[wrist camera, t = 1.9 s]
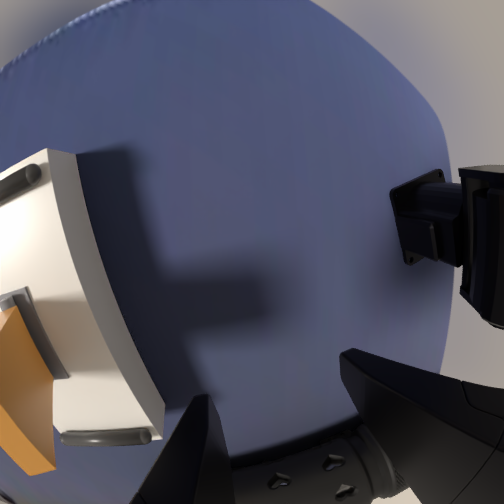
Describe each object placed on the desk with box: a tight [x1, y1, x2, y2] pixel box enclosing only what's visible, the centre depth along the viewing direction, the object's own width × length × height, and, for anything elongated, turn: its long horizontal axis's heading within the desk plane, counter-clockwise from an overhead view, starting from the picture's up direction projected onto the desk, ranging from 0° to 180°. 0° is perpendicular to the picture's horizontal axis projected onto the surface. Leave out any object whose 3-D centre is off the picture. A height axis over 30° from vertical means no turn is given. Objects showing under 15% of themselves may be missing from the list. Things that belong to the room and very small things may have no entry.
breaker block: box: [0, 148, 165, 446], centre depth 14 cm, size 9×20×5 cm, turn 13°
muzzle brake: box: [231, 423, 409, 504], centre depth 19 cm, size 10×28×10 cm, turn 104°
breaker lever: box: [0, 296, 56, 476], centre depth 9 cm, size 2×6×9 cm, turn 12°
